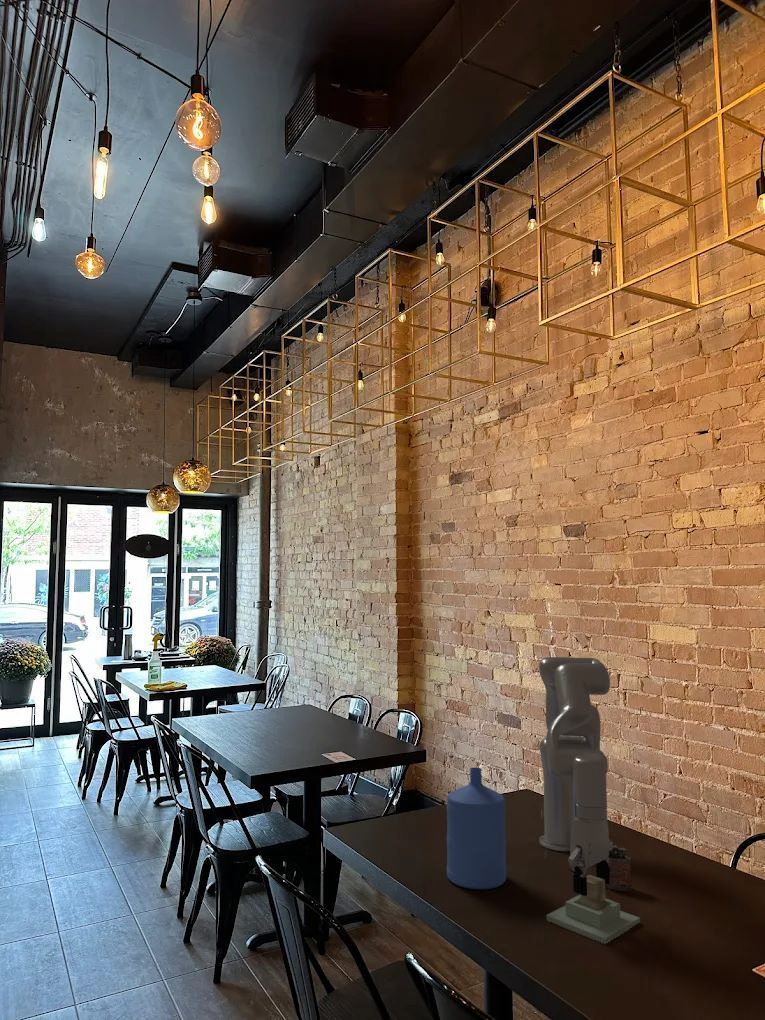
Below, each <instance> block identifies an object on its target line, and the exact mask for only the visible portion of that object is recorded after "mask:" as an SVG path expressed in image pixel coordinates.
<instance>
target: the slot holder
mask: <svg viewBox="0 0 765 1020" xmlns="http://www.w3.org/2000/svg"><path fill="white" fill-rule="evenodd" d="M546 921H547V922H549V923H551V922H552V924H554V925H556V926H559V927H562V928H564V929H566V930H569V931H571V932H574V933H575V934H579V935H580V936H582V937H586V938H588V939H590V940H593V941H595V940H596V942H598V941H599V942H598V943H600V942H601V944H603V943H604V944H603V945H607V944H608V942H609V943H610V942H611V940H612V941H613V939H614V938H615V939H617V938H618V936H619V937H620V936H622V935H623V934H625V933H627V932H628V931H630V930H631V929H630V928H632V927H633V926H635V925H636V924H638V923H640V924H641V918H640V917H639V916H636V915H633V914H630V913H627V912H625V911H622V910H621V903H620V902H617V901H615V900H612V899H609V898H606V897H605V908H603V909H601V910H599V911H595V910H593V909H590V908H587V907H585V906H582V905H581V898H580V894H578V895H576V896H574V897H572V898H571V899H569V900H566V901H565V904H564V906H561V907H560V908H557V909H556V910H554V911H552V912H550V913H548V914H546ZM638 925H639V924H638ZM635 927H636V926H635ZM633 928H634V927H633ZM633 928H632V929H633ZM629 929H630V930H629ZM626 931H627V932H626ZM624 932H625V933H624ZM621 934H622V935H621ZM616 937H617V938H616ZM615 939H614V940H615ZM606 943H607V944H606Z"/></svg>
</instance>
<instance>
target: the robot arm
mask: <svg viewBox="0 0 765 1020" xmlns="http://www.w3.org/2000/svg"><path fill="white" fill-rule="evenodd" d="M538 665H539V666H538V671H539V675H540V678H541V680H542V683H543V685H544V688H545V726H546V729H547V732H546V736H545V737H544V738H543V739H542V740H541V742H540V745H539V752H540V759H541V764H542V765H541V766H542V775H543V810H544V811H543V815H544V817H543V818H544V819H543V820H544V823H543V824H544V834H543V835H541V836H539V844H540V845H541V847H544V848H546V849H549V850H553V851H557V852H569V854H570V855H569V857H568V859H567V861H568V865H569V870H570V871H571V875H572V876H573V878H572V879H573V880H572V881H573V883H572V884H573V892H574V893H576V894H578V895H580V894H581V895H583V896H586V895H587V877H586V873H587V870H588V869H589V868H590V867H592V866H594V865H595V866H596V877H597V878H601V879H604V880H605V883H606V884H609V883H610V866H608V865H610V864H611V861H610V858H611V855H612V852H611V851H612V847H613V846H614V843H613V841H612V840H610V834H609V833H610V830H609V824H608V806H607V805H608V795H607V774H608V769H609V764H608V758H607V756H606V755H605V754H604V752H603V751H602V750H601V730H602V729H601V716H600V712H599V710H598V708H597V706H595V705H593V704H592V703H591V698H590V695H591V696H592V695H593V696H595V695H596V696H604V695H607V694H608V693H609V691H610V688H611V678H610V674H609V671H608V669H607V667H606V666H605V664H604V663H603V662H601V661H600V660H599V659H597V658H593V657H570V656H568V657H567V656H548V657H547V656H546V657H543V658H541V660H540V662H539V664H538ZM580 866H581V867H582V868H580Z"/></svg>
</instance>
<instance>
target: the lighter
mask: <svg viewBox="0 0 765 1020" xmlns="http://www.w3.org/2000/svg"><path fill="white" fill-rule="evenodd" d="M626 851H627V849H626V848H624V847H619V846H618V845H615V844H613V846H612V851H611V852H612V855H611V858H610V861H611V864H610V865H608V866H610V883H609V884H606V883H605V889H610V890H617V891H632V889H633V886H632V881H631V880H632V876H631V871H632V870H631V862H632V859H631V857H630V856H627V855H626V853H627V852H626Z"/></svg>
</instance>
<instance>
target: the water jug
mask: <svg viewBox="0 0 765 1020" xmlns="http://www.w3.org/2000/svg"><path fill="white" fill-rule="evenodd" d="M469 771H470V774H469V779H470V780H469V783H468V784H467V785H464V786H463V787H460V788H458V789H455V790H453V791H451V792H450V793H448V795H447V798H446V799H447V801H446V812H447V819H446V820H447V821H446V823H447V826H446V827H447V828H446V829H447V833H446V845H447V846H446V847H447V851H446V853H447V854H446V855H447V861H446V862H447V865H446V876H447V878H448V880H449V881H450V882H451V883H453V884H454V885H456V886H459V887H462V888H465V889H468V890H469V889H470V890H491V889H494V888H498V887H500V886H502V885H503V884H504V883H505V882H506V881H507V869H506V867H507V865H506V855H507V854H506V848H507V838H506V837H507V836H506V812H507V810H506V809H507V807H506V806H507V805H506V798H505V797H504V795H503V794H501V793H500V792H497V791H495V790H493V789H492V788H489V787H487V786H485V784H484V785H483V783H482V778H483V775H482V771H483V770H482V768H480V767H470V768H469Z"/></svg>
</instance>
